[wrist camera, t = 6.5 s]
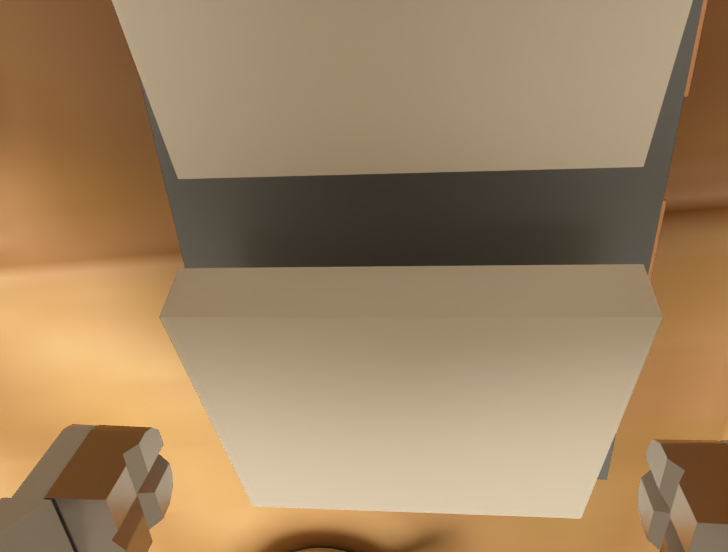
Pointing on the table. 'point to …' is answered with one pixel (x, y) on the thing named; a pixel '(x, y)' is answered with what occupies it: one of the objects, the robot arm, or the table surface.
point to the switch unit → (436, 209)
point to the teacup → (320, 550)
